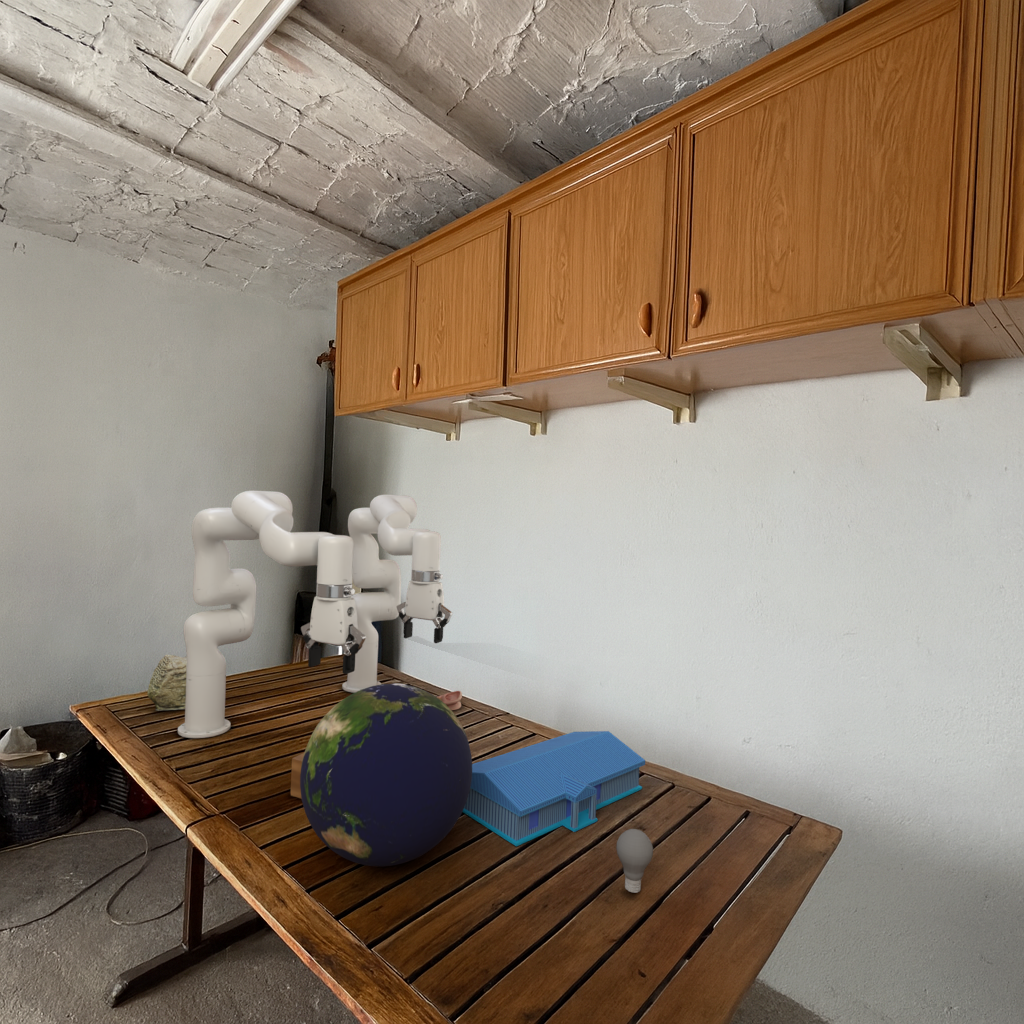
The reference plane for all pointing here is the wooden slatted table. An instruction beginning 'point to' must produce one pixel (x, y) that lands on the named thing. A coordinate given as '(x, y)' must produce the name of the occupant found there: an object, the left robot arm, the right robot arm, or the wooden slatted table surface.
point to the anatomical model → (452, 699)
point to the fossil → (169, 683)
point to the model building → (552, 784)
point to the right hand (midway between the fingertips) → (422, 639)
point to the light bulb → (634, 857)
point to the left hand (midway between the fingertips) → (331, 669)
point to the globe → (386, 775)
